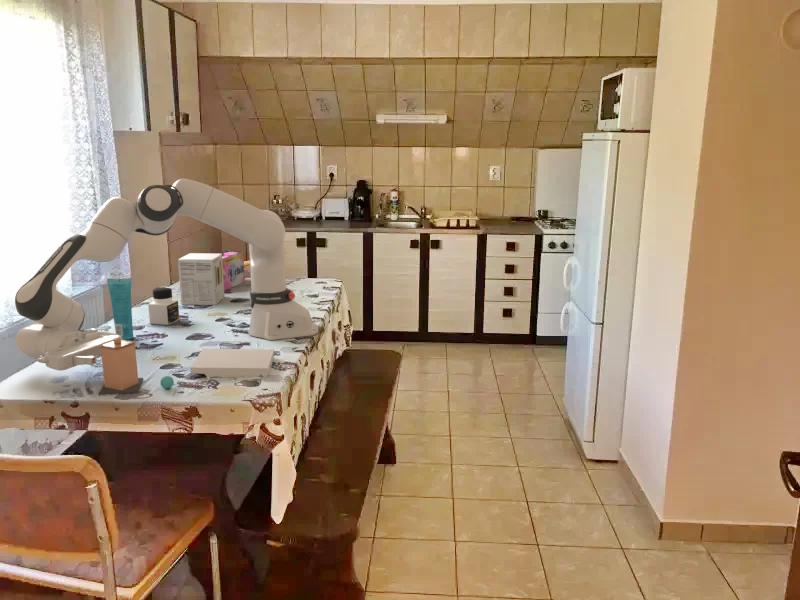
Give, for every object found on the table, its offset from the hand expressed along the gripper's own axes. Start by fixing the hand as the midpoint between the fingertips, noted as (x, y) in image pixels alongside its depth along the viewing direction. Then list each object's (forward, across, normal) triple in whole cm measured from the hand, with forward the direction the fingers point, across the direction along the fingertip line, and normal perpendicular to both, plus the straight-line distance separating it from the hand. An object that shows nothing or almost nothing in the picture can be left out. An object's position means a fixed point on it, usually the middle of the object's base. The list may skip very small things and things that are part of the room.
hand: (108, 355), depth 167 cm
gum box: (-45, +104, +8) cm, 113 cm away
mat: (+3, 0, +8) cm, 9 cm away
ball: (+14, +4, +8) cm, 17 cm away
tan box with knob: (+3, 0, +8) cm, 8 cm away
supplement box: (-37, +80, +8) cm, 89 cm away
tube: (-27, +32, +8) cm, 43 cm away
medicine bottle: (-29, +51, +8) cm, 60 cm away
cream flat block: (+20, +24, +9) cm, 33 cm away
